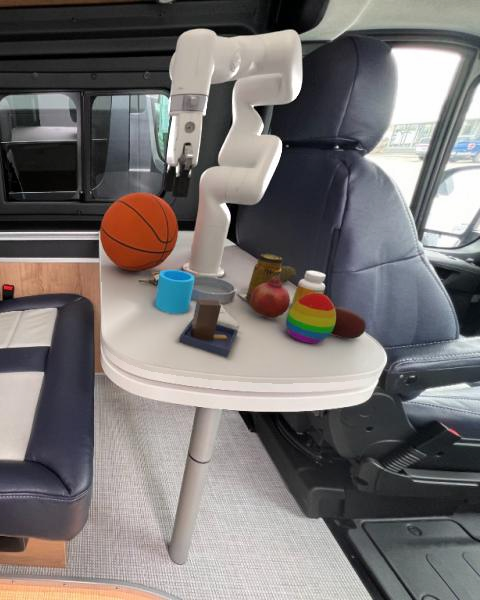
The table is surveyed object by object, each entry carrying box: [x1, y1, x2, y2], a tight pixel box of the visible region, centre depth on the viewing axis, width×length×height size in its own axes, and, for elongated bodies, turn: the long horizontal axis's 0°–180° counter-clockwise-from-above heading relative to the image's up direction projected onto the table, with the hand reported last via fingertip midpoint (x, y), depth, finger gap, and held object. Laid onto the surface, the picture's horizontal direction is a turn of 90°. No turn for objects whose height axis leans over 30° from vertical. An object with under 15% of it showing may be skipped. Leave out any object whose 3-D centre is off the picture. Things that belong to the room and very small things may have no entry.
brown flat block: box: [190, 299, 227, 341], centre depth 64 cm, size 2×7×8 cm, turn 86°
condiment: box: [238, 253, 284, 304], centre depth 82 cm, size 7×8×12 cm
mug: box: [154, 269, 195, 315], centre depth 80 cm, size 12×8×8 cm
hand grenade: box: [279, 265, 296, 284], centre depth 97 cm, size 5×6×10 cm
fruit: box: [249, 277, 291, 319], centre depth 74 cm, size 8×8×10 cm
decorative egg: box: [285, 293, 336, 344], centre depth 66 cm, size 8×8×10 cm
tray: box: [178, 318, 239, 358], centre depth 66 cm, size 9×9×2 cm
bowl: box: [191, 276, 237, 305], centre depth 87 cm, size 13×13×3 cm
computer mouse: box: [138, 270, 162, 287], centre depth 92 cm, size 7×15×4 cm, turn 88°
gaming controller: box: [217, 304, 240, 331], centre depth 72 cm, size 10×4×7 cm
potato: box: [330, 305, 367, 340], centre depth 68 cm, size 8×9×6 cm
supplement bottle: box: [290, 270, 326, 308], centre depth 78 cm, size 5×5×10 cm
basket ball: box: [99, 191, 179, 272], centre depth 100 cm, size 24×24×24 cm
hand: (174, 194), depth 74 cm, fingers open, 9 cm apart
